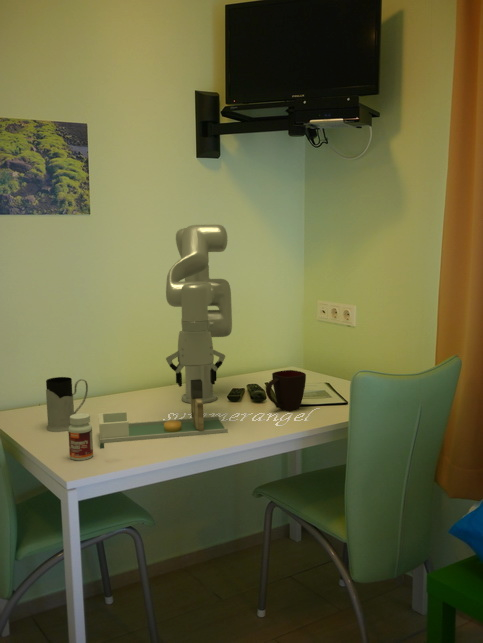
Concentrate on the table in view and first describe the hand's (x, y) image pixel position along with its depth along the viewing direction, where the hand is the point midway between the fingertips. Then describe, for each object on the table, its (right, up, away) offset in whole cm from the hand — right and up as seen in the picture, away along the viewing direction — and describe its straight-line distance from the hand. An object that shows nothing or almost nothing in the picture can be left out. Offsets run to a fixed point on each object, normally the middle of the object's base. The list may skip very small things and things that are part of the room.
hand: (196, 384), depth 193 cm
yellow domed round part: (-7, -13, +1) cm, 15 cm away
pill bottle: (-30, -18, -17) cm, 38 cm away
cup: (+27, -11, +25) cm, 39 cm away
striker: (0, -12, +2) cm, 13 cm away
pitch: (-10, -15, 0) cm, 18 cm away
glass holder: (-40, -14, +11) cm, 44 cm away
